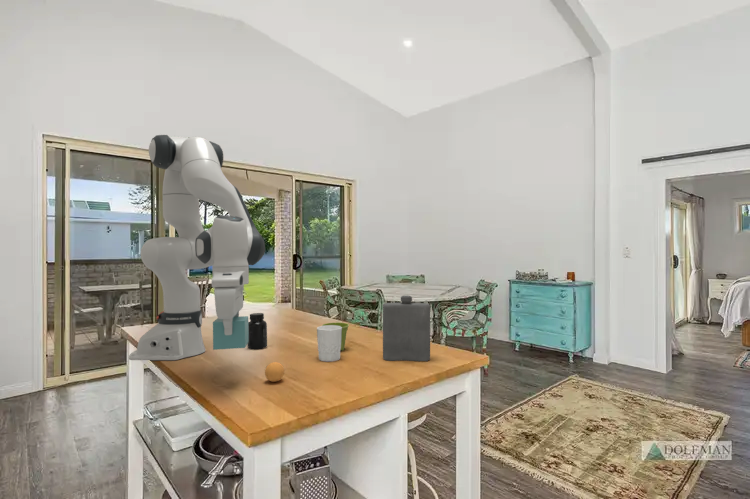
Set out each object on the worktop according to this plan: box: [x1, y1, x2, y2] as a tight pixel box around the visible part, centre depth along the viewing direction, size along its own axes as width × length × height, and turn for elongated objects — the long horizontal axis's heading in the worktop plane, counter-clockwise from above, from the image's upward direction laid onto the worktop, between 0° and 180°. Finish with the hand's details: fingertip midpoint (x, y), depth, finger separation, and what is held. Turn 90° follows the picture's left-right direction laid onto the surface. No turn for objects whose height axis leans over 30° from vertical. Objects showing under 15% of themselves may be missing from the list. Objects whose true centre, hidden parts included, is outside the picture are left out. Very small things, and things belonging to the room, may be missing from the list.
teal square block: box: [212, 315, 249, 351], centre depth 104 cm, size 8×8×7 cm
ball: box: [264, 361, 285, 383], centre depth 106 cm, size 5×5×5 cm
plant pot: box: [321, 322, 350, 352], centre depth 139 cm, size 9×9×9 cm
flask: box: [382, 295, 431, 362], centre depth 128 cm, size 15×6×20 cm, turn 84°
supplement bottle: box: [246, 312, 268, 351], centre depth 143 cm, size 7×7×12 cm
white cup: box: [316, 325, 342, 362], centre depth 128 cm, size 8×8×10 cm
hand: (231, 331), depth 104 cm, fingers closed on teal square block, 8 cm apart
